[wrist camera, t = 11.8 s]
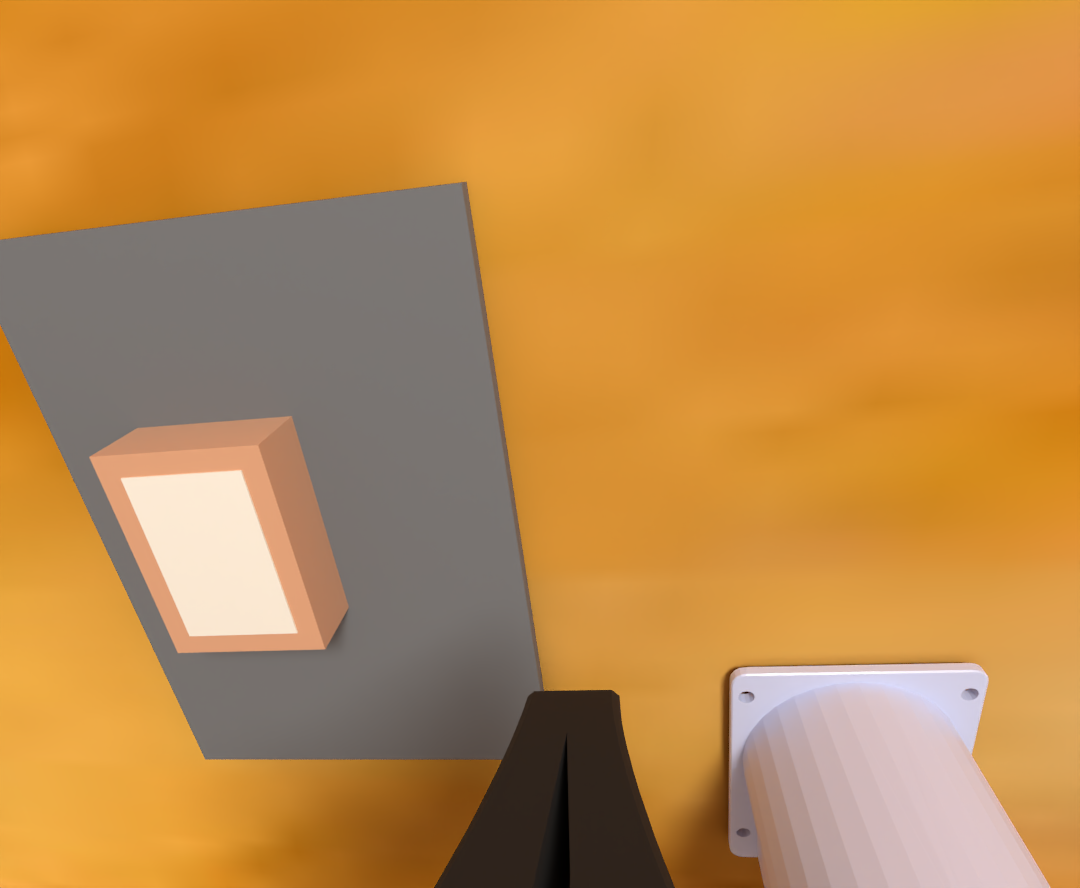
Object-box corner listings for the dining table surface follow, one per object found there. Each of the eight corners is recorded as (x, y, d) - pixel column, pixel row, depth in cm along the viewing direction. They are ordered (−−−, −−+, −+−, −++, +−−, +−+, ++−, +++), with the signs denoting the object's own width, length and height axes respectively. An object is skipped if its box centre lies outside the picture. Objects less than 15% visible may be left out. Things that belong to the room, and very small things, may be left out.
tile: (324, 650, 20) (177, 654, 20) (348, 607, 22) (212, 611, 22) (257, 445, 17) (87, 457, 18) (291, 415, 19) (137, 428, 19)
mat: (552, 745, 24) (551, 759, 24) (213, 746, 26) (205, 759, 26) (466, 181, 16) (461, 182, 16) (-18, 242, 18) (-38, 245, 17)
